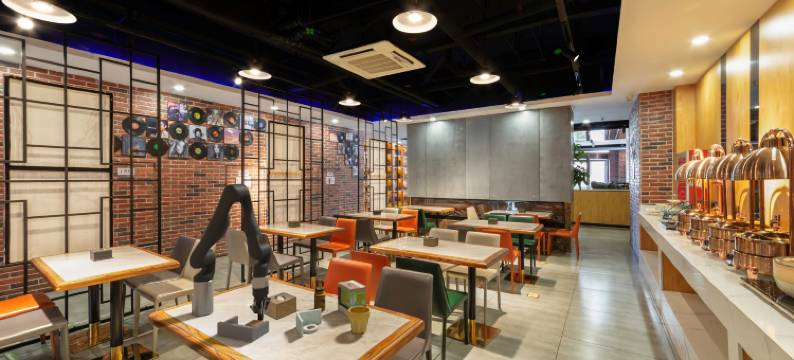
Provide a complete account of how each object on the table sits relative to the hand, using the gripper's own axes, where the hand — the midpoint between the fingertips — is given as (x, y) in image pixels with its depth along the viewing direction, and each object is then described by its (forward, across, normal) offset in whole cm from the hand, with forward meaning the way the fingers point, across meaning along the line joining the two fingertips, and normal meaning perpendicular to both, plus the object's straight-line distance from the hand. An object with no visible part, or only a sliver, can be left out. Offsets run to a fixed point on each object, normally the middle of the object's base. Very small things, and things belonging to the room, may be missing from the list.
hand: (260, 320), depth 168 cm
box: (+2, +11, 0) cm, 11 cm away
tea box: (+2, -28, +36) cm, 45 cm away
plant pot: (+2, -8, +48) cm, 49 cm away
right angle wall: (+2, -2, +27) cm, 27 cm away
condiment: (+2, -24, +18) cm, 30 cm away
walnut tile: (+2, +4, 0) cm, 5 cm away
